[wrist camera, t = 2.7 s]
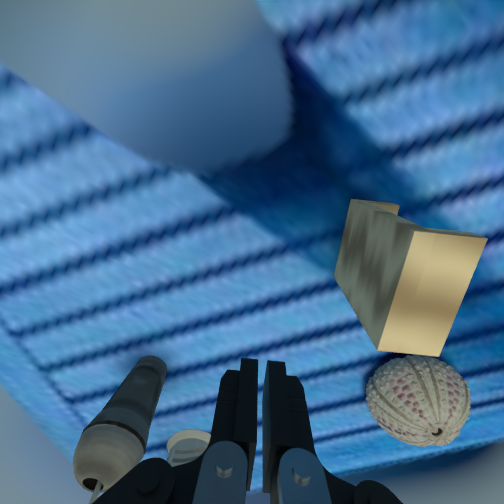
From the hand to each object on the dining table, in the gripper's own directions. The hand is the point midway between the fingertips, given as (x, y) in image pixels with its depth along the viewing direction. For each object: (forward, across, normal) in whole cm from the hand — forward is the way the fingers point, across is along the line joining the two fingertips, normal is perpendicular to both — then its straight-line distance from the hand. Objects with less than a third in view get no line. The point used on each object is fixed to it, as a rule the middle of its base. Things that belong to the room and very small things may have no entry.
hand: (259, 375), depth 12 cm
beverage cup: (+23, +14, +23) cm, 36 cm away
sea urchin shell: (+23, -24, +21) cm, 40 cm away
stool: (+23, -12, 0) cm, 26 cm away
